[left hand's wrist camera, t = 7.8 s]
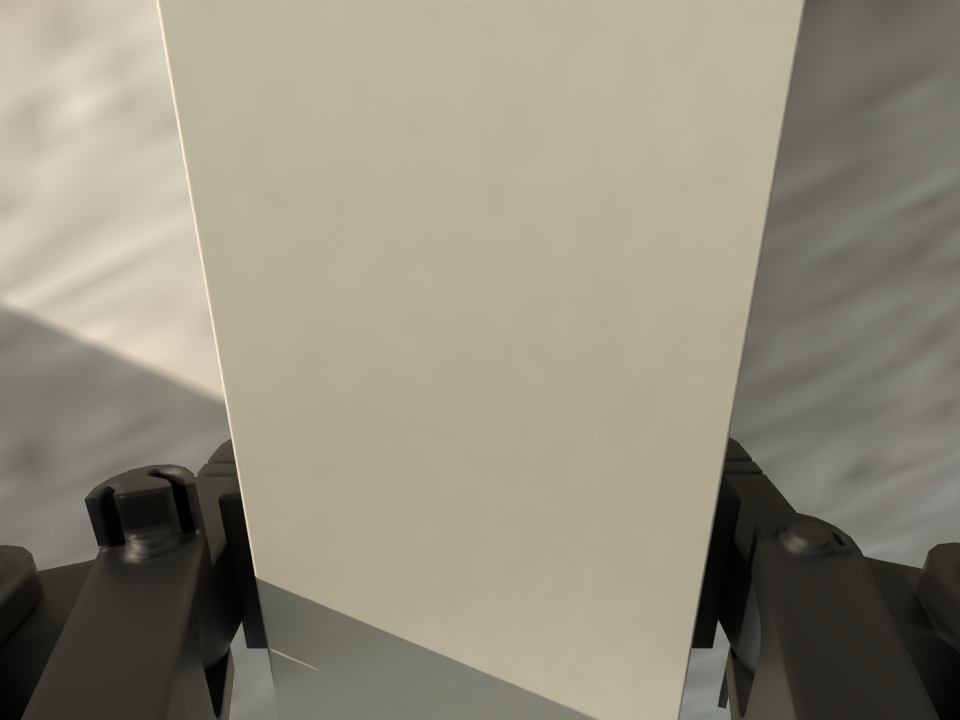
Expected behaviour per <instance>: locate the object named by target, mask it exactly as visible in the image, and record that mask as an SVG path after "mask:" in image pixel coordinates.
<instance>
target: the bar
mask: <svg viewBox="0 0 960 720" xmlns="http://www.w3.org/2000/svg"><path fill="white" fill-rule="evenodd" d="M156 2H157V8H158V13H159V19H160V25H161V31H162V37H163V43H164V48H165V54H166V60H167V66H168V72H169V77H170V83H171V89H172V95H173V101H174V106H175V112H176V118H177V124H178V130H179V136H180V141H181V147H182V153H183V159H184V165H185V170H186V176H187V182H188V188H189V194H190V199H191V205H192V211H193V217H194V223H195V229H196V234H197V240H198V246H199V252H200V258H201V263H202V269H203V275H204V281H205V287H206V293H207V298H208V304H209V310H210V316H211V322H212V327H213V333H214V339H215V345H216V351H217V356H218V362H219V368H220V374H221V380H222V386H223V391H224V397H225V403H226V409H227V415H228V420H229V426H230V432H231V438H232V444H233V449H234V455H235V461H236V467H237V473H238V479H239V484H240V490H241V496H242V502H243V508H244V513H245V519H246V525H247V531H248V537H249V542H250V548H251V554H252V560H253V566H254V572H255V577H256V583H257V589H258V595H259V601H260V606H261V612H262V618H263V624H264V630H265V636H266V641H267V647H268V653H269V659H270V665H271V670H272V676H273V682H274V688H275V694H276V699H277V705H278V711H279V717H280V720H679V716H680V710H681V705H682V699H683V693H684V688H685V682H686V676H687V671H688V665H689V659H690V654H691V648H692V642H693V637H694V631H695V626H696V620H697V614H698V609H699V603H700V597H701V592H702V586H703V580H704V575H705V569H706V563H707V558H708V552H709V546H710V541H711V535H712V530H713V524H714V518H715V513H716V507H717V501H718V496H719V490H720V484H721V479H722V473H723V467H724V462H725V456H726V450H727V445H728V439H729V434H730V428H731V422H732V417H733V411H734V405H735V400H736V394H737V388H738V383H739V377H740V371H741V366H742V360H743V354H744V349H745V343H746V338H747V332H748V326H749V321H750V315H751V309H752V304H753V298H754V292H755V287H756V281H757V275H758V270H759V264H760V258H761V253H762V247H763V241H764V236H765V230H766V225H767V219H768V213H769V208H770V202H771V196H772V191H773V185H774V179H775V174H776V168H777V162H778V157H779V151H780V145H781V140H782V134H783V129H784V123H785V117H786V112H787V106H788V100H789V95H790V89H791V83H792V78H793V72H794V66H795V61H796V55H797V49H798V44H799V38H800V33H801V27H802V21H803V16H804V10H805V4H806V0H156Z"/></svg>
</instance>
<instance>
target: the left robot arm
mask: <svg viewBox="0 0 960 720" xmlns="http://www.w3.org/2000/svg"><path fill="white" fill-rule="evenodd" d="M85 502H86V506H87V509H88V512H89V516H90V519H91V523H92V526H93V529H94V533H95V536H96V539H97V543H98V546H99V550H100V551H99V553H98V555H97V557H96V559H94V560H90V561H86V562H82V563H77V564H72V565H67V566H62V567H57V568H52V569H47V570H43V571H37V568H36V565H35V562H34V559H33V557H32V554H31V553H30V552H29V551H27V550H26V549H24V548H23V547H18V546H9V545H3V546H0V720H229V713H230V705H231V696H232V687H233V678H234V664H233V657H232V653H231V648H230V644H231V642H232V640H233V638H234V636H235V634H236V632H237V630H238V628H239V626H240V624H241V622H242V624H243V629H244V634H245V639H246V644H247V648H268V647H267V641H266V636H265V630H264V624H263V618H262V612H261V606H260V601H259V595H258V589H257V583H256V577H255V572H254V566H253V560H252V554H251V548H250V542H249V537H248V531H247V525H246V519H245V513H244V508H243V502H242V496H241V490H240V484H239V479H238V473H237V467H236V461H235V455H234V449H233V444H232V439H230V440H228V441H227V442H225V443H224V444H222V445H221V446H220V447H219V448H218V449H217V450H216V452H215V453H214V454H213V455H212V457H211V458H210V459H209V460H208V464H205V465H204V466H203V467H202V469H201V470H200V471H199V472H198V476H197V477H194V473H192V472H191V471H190V470H188V469H187V468H185V467H181V466H176V465H171V464H170V465H151V466H147V467H142V468H137V469H133V470H130V471H127V472H125V473H122V474H119V475H117V476H114V477H112V478H110V479H108V480H107V481H105V482H103V483H102V484H100V485H99V486H97V487H95V488H94V489H93V490H92V491H91V493H90V494H89V495H88V496H87V497H86V498H85ZM718 619H719V622H720V624H721V626H722V628H723V630H724V632H725V634H726V636H727V638H728V640H729V642H730V648H729V653H728V657H727V662H726V667H725V672H724V676H723V681H722V686H721V691H720V696H719V702H718V707H722V708H726V705H727V701H728V696H729V703H730V712H731V720H960V543H955V542H954V543H945V544H938V545H936V546H935V547H934V548H932V549H931V550H929V552H928V555H927V558H926V561H925V564H924V566H923V569H920V568H916V567H911V566H906V565H901V564H896V563H891V562H886V561H881V560H876V559H872V558H868V557H865V556H863V554H862V552H861V550H860V549H859V547H858V546H857V545H856V543H855V542H854V541H853V539H852V538H851V537H850V536H848V535H847V534H845V533H844V532H843V531H841V530H840V529H839V528H837V527H836V526H834V525H831V524H829V523H827V522H825V521H823V520H820V519H818V518H816V517H812V516H808V515H804V514H800V513H797V512H796V511H795V510H794V509H793V508H792V506H791V505H790V504H789V503H788V502H787V500H786V499H785V498H784V497H783V496H782V494H781V493H780V492H779V491H778V490H777V488H776V487H775V486H774V485H773V483H772V482H771V481H770V480H769V479H768V477H767V476H766V475H763V473H762V470H761V469H760V468H759V467H758V465H757V464H756V463H755V462H752V458H751V457H750V456H749V455H748V453H747V452H746V451H745V450H744V448H743V447H742V446H741V445H740V444H739V443H738V442H736V441H735V440H733V439H732V438H730V437H729V439H728V445H727V450H726V456H725V462H724V467H723V473H722V479H721V484H720V490H719V496H718V501H717V507H716V513H715V518H714V524H713V530H712V535H711V541H710V546H709V552H708V558H707V563H706V569H705V575H704V580H703V586H702V592H701V597H700V603H699V609H698V614H697V620H696V626H695V631H694V637H693V642H692V648H713V642H714V637H715V632H716V627H717V622H718Z"/></svg>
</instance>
